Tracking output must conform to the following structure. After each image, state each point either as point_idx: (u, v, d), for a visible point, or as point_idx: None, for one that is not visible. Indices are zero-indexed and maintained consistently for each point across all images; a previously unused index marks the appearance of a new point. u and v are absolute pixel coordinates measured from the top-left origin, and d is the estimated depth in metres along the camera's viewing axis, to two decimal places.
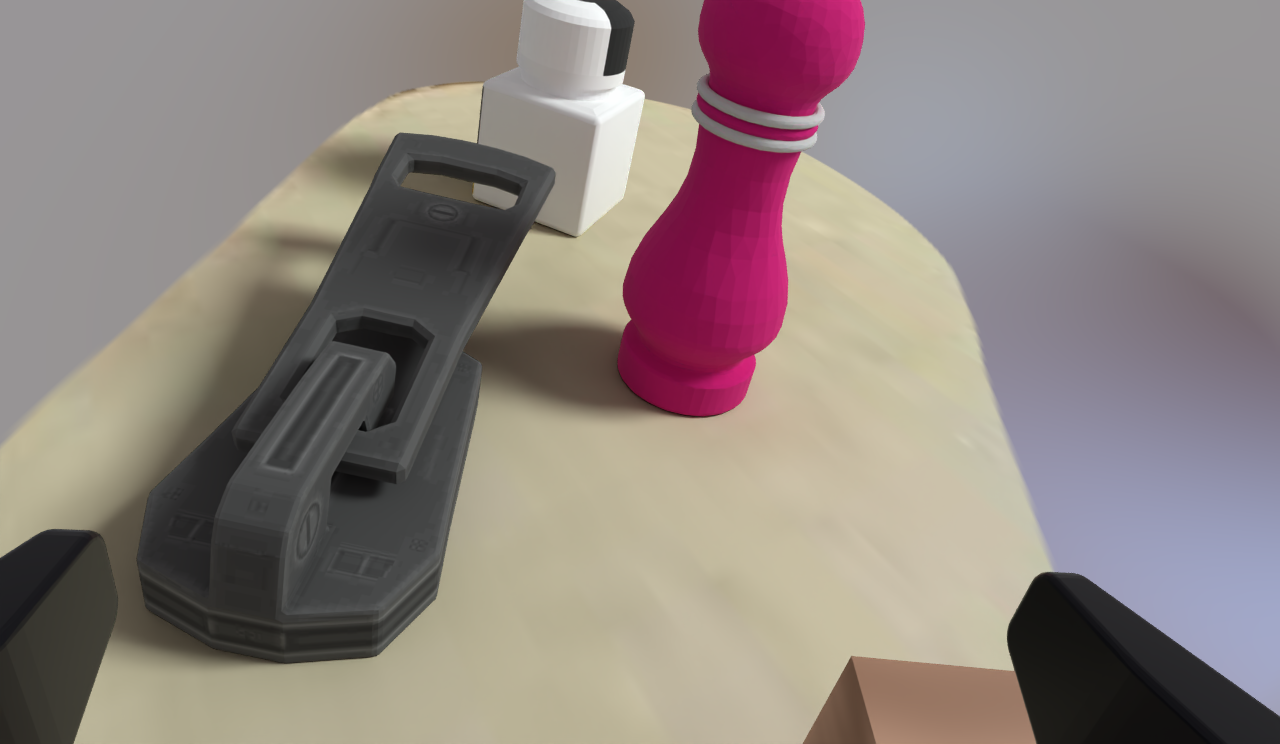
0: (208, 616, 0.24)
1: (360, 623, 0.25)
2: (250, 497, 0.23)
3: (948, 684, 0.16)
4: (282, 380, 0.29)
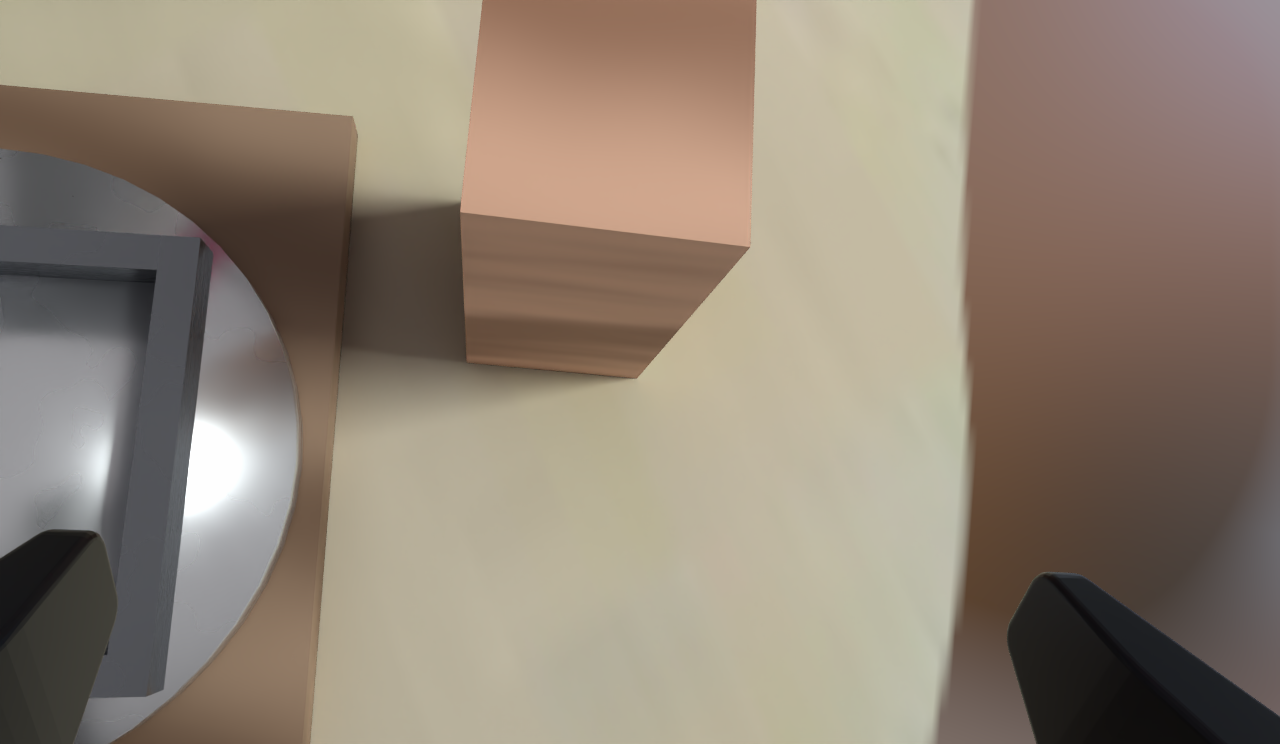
0: None
1: None
2: None
3: None
4: None
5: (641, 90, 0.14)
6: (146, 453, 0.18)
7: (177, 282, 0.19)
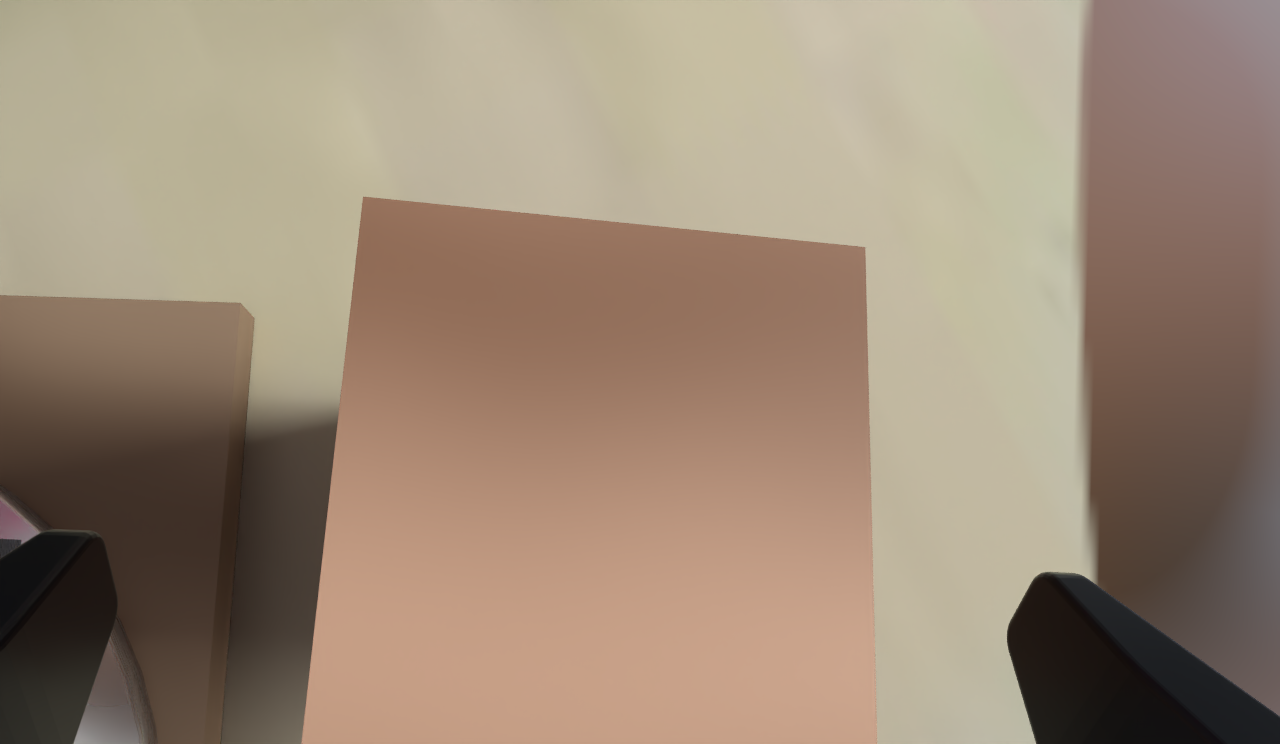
0: None
1: None
2: None
3: (576, 267, 0.08)
4: None
5: (661, 455, 0.07)
6: None
7: None
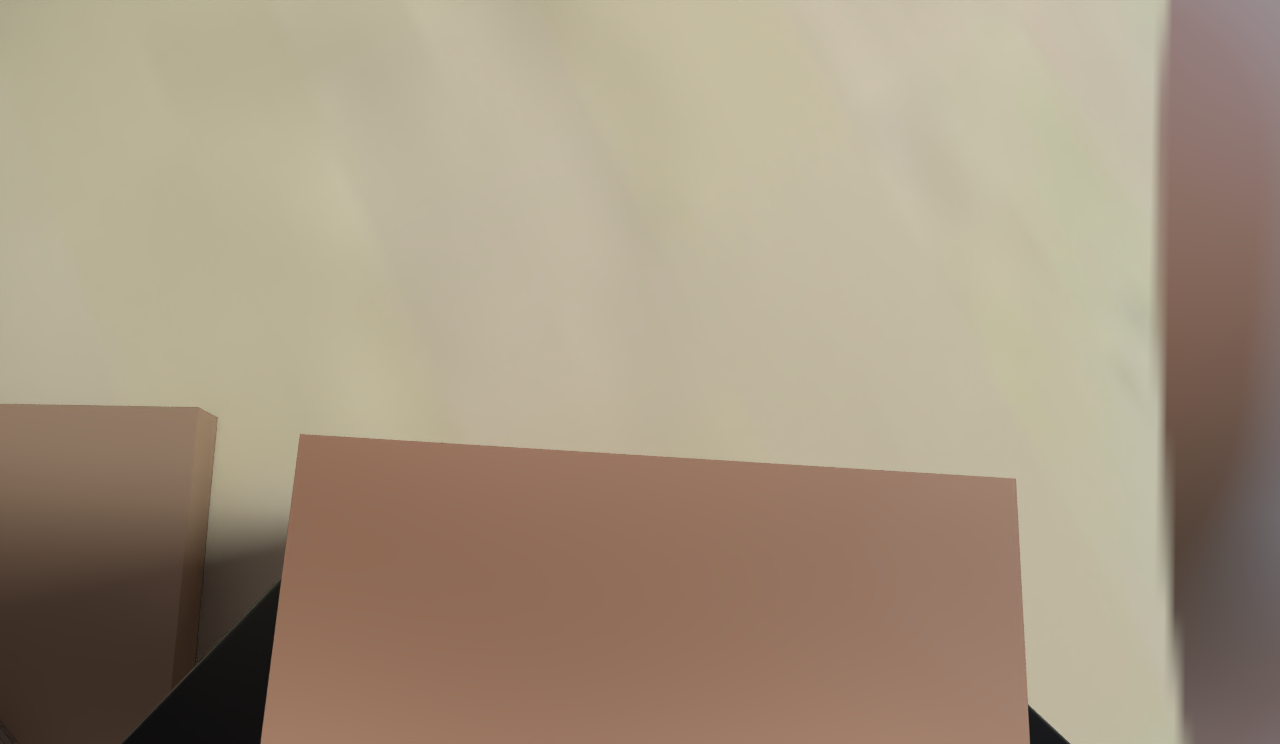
0: None
1: None
2: None
3: (609, 529, 0.05)
4: None
5: None
6: None
7: None
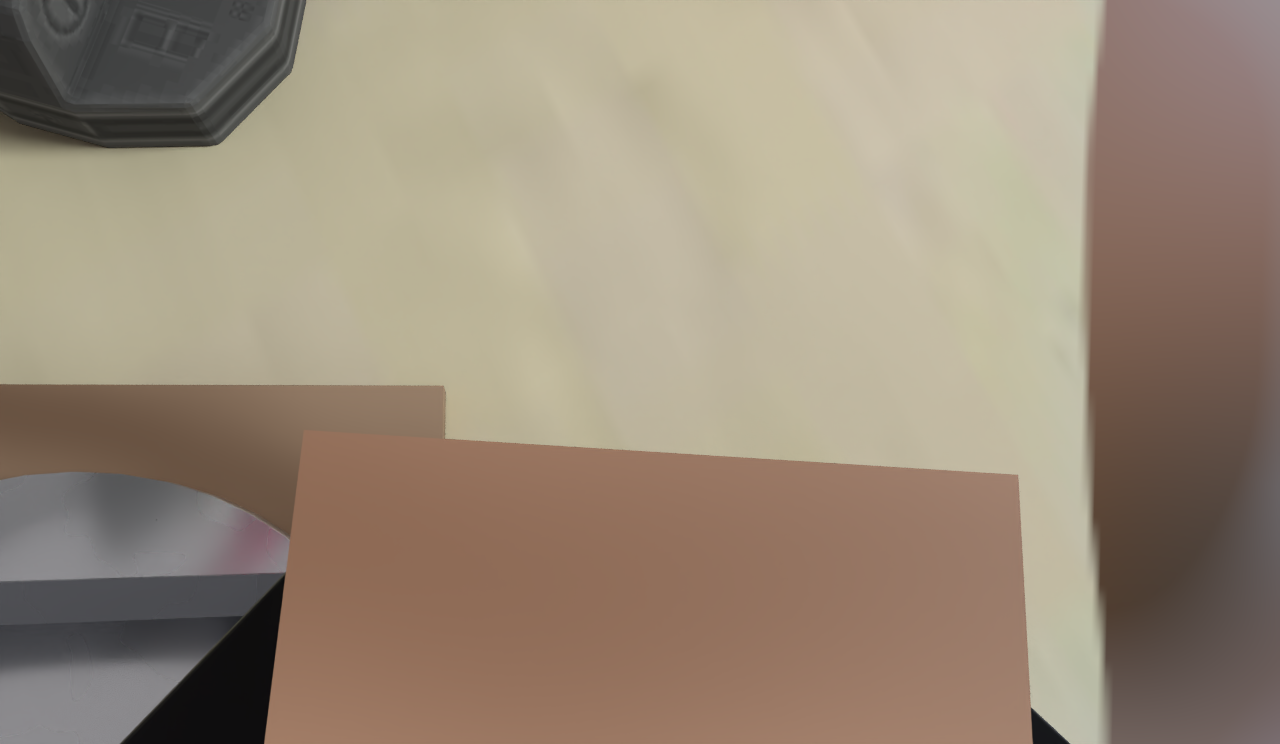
0: None
1: (175, 115, 0.20)
2: None
3: (613, 525, 0.05)
4: None
5: None
6: None
7: None
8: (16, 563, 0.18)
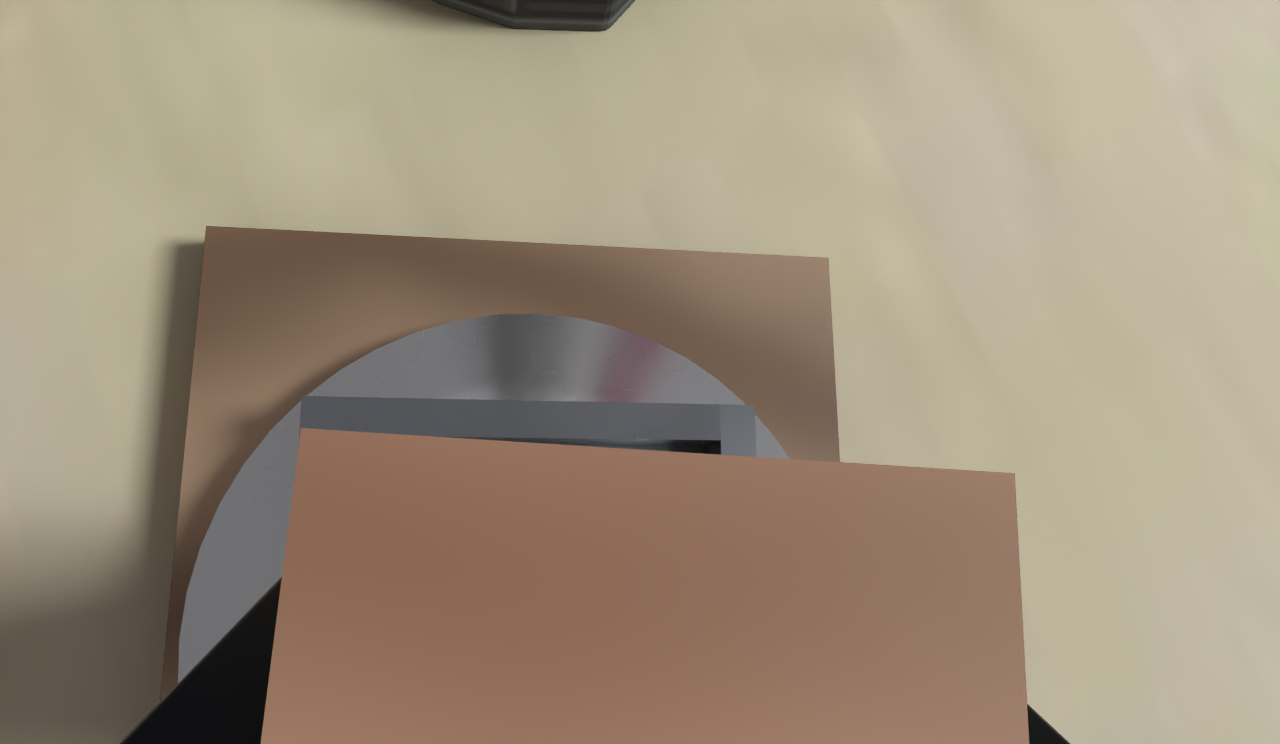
0: None
1: None
2: None
3: (609, 523, 0.05)
4: None
5: None
6: None
7: (740, 452, 0.19)
8: (494, 392, 0.19)
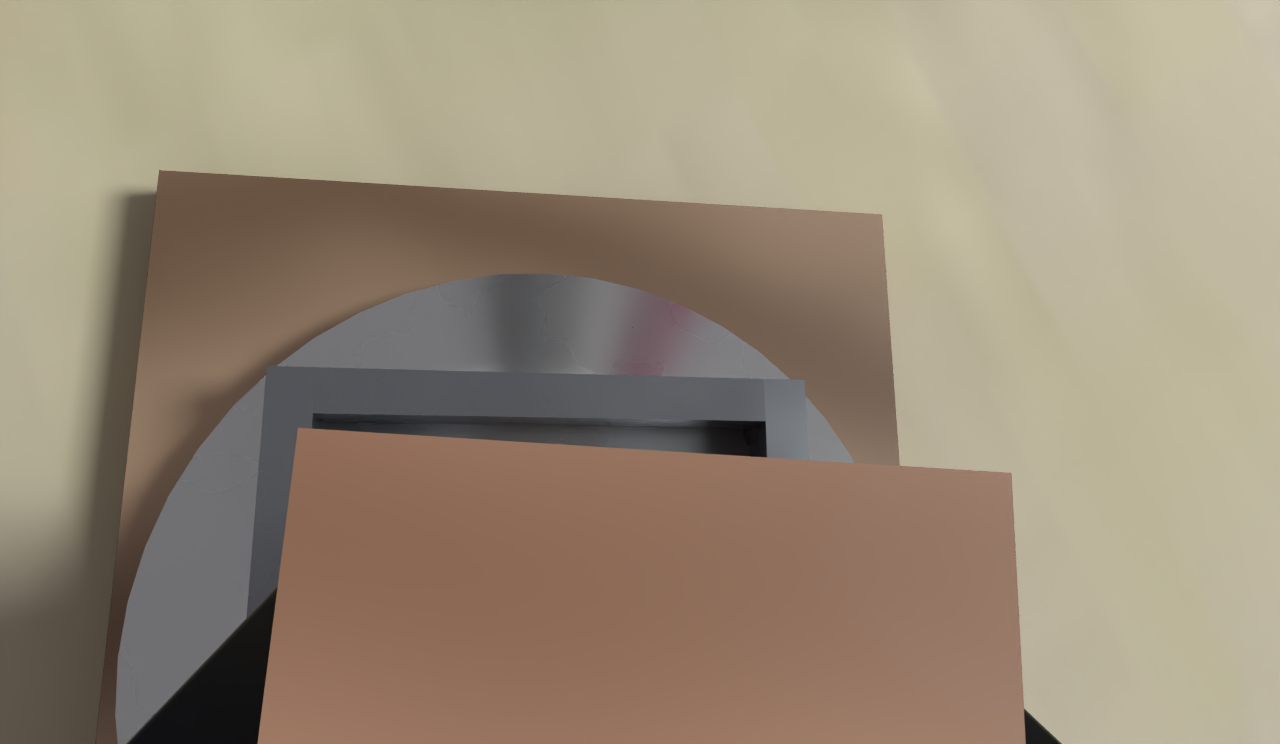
0: None
1: None
2: None
3: (608, 523, 0.05)
4: None
5: None
6: None
7: (789, 435, 0.16)
8: (497, 364, 0.16)
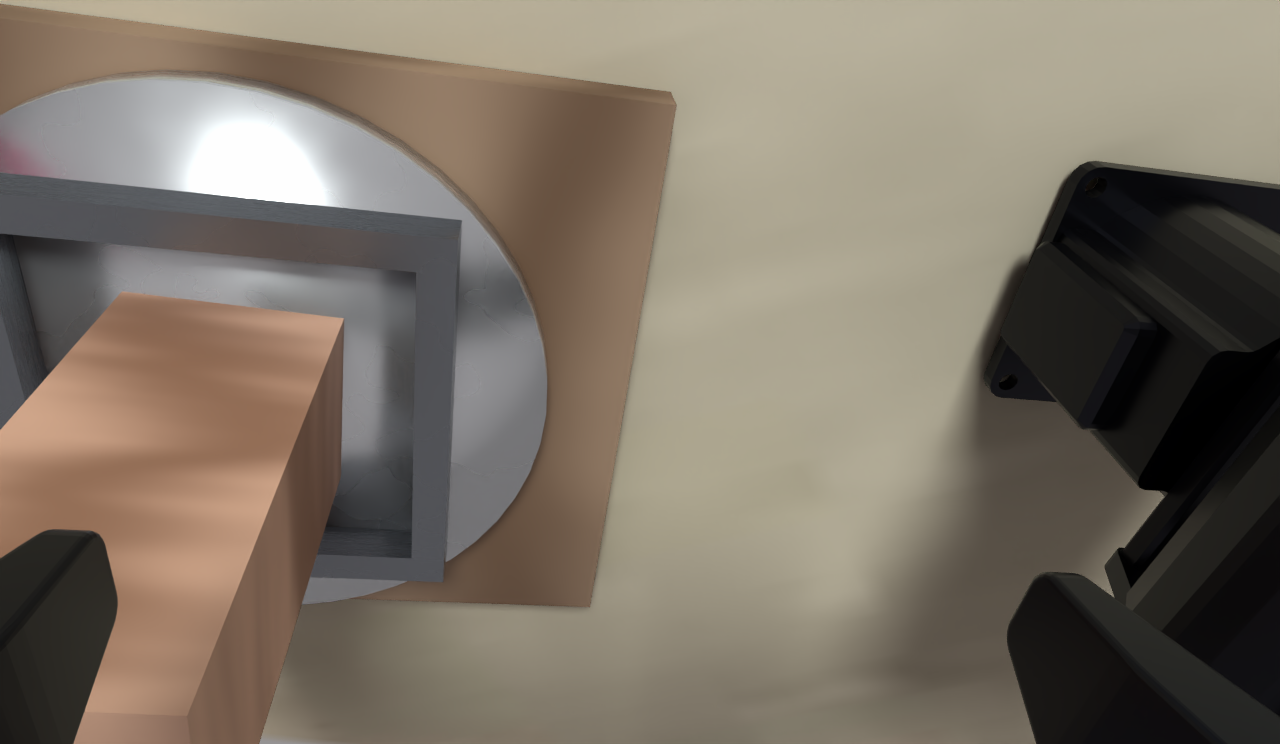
0: None
1: None
2: None
3: None
4: None
5: None
6: (204, 240, 0.17)
7: None
8: None
